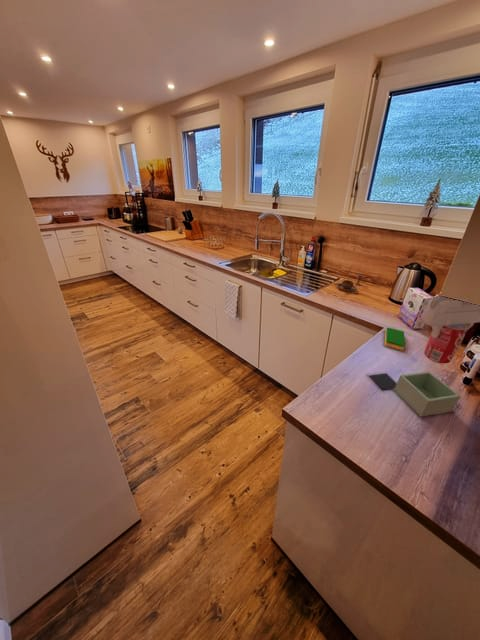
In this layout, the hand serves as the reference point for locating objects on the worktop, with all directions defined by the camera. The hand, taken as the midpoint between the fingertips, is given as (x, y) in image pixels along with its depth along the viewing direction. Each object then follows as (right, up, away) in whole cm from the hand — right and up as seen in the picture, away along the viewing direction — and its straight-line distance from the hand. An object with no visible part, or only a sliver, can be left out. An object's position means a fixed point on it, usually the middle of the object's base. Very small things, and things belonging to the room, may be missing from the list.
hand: (447, 335), depth 75 cm
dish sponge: (+10, -5, +43) cm, 44 cm away
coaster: (-8, -18, +18) cm, 27 cm away
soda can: (0, -7, +4) cm, 8 cm away
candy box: (+27, +3, +58) cm, 64 cm away
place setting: (+14, +25, +97) cm, 101 cm away
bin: (0, -22, +11) cm, 25 cm away
